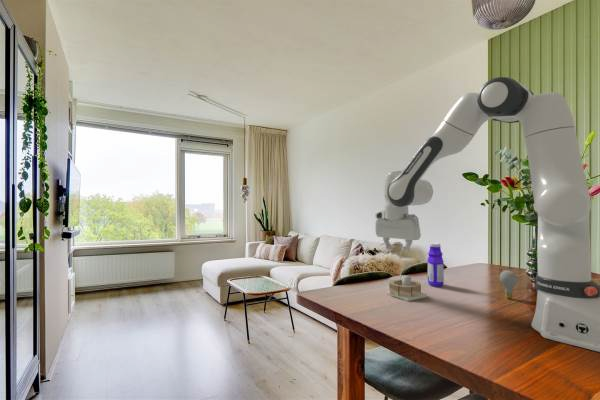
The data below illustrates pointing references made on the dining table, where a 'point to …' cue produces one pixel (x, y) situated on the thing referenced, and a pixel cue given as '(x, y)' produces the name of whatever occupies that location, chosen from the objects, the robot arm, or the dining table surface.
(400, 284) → the ring
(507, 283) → the light bulb
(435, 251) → the bottle
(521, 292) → the dining table surface
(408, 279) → the square peg stand
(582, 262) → the robot arm
